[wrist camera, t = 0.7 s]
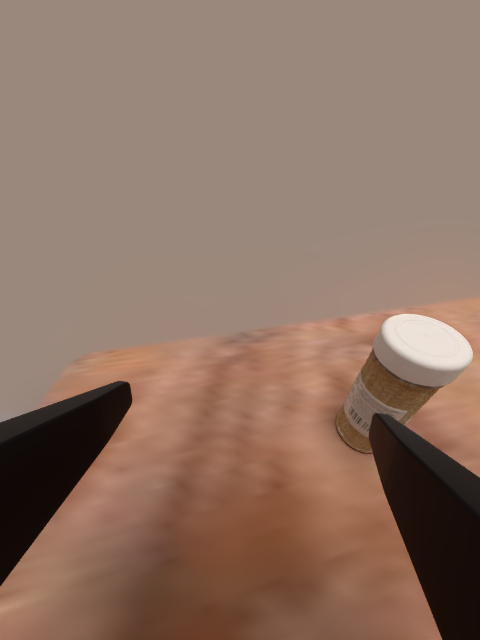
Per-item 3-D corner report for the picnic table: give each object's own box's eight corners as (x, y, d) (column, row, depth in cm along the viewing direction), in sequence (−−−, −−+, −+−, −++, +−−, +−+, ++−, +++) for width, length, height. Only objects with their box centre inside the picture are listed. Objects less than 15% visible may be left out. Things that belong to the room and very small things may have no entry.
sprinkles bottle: (395, 444, 21) (499, 353, 12) (354, 462, 20) (433, 379, 11) (361, 401, 24) (421, 304, 15) (324, 415, 23) (366, 321, 14)
